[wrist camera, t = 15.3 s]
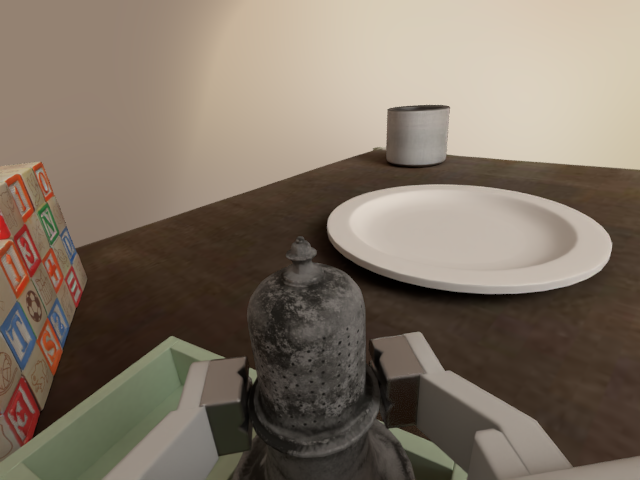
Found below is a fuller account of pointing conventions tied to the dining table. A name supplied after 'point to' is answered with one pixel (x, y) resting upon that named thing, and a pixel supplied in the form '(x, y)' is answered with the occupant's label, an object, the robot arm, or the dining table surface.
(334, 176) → the dining table surface
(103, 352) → the dining table surface
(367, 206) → the plate
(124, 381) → the grid
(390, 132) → the planter
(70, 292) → the stack of blocks
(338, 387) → the grey chess piece
